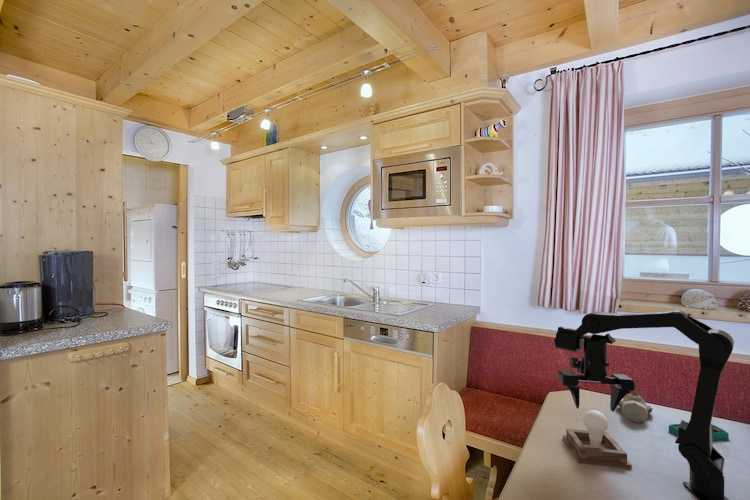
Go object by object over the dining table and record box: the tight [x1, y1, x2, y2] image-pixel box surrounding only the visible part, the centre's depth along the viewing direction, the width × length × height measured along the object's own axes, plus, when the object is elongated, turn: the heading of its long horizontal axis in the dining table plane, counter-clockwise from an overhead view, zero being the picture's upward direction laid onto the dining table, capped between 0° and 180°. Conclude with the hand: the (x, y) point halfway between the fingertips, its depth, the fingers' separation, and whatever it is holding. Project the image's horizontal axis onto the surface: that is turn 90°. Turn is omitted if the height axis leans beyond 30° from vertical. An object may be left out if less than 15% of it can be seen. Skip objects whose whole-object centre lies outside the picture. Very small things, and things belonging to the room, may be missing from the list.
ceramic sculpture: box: [617, 392, 653, 423], centre depth 125 cm, size 11×9×15 cm
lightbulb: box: [582, 409, 609, 448], centre depth 102 cm, size 6×6×11 cm
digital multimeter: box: [668, 423, 730, 441], centre depth 112 cm, size 7×15×3 cm, turn 99°
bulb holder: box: [562, 428, 633, 470], centre depth 102 cm, size 13×13×4 cm
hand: (594, 409), depth 102 cm, fingers open, 9 cm apart
